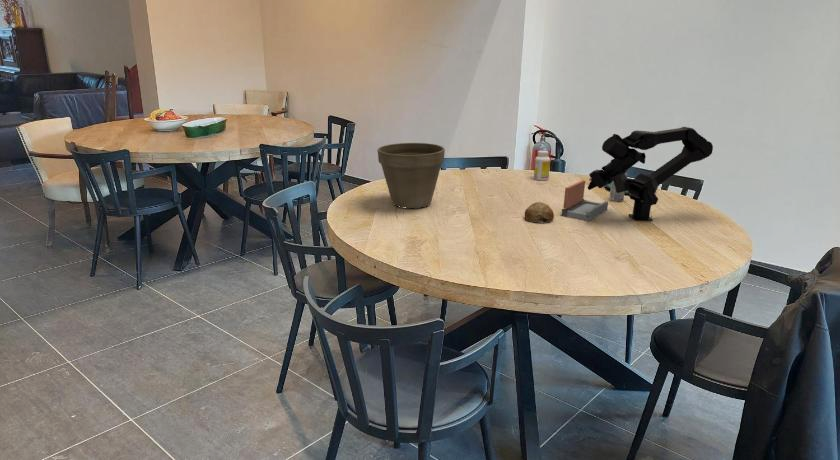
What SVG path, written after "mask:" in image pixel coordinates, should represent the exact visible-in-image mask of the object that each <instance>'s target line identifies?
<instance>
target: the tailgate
mask: <svg viewBox="0 0 840 460" xmlns="http://www.w3.org/2000/svg"><path fill="white" fill-rule="evenodd" d="M585 187H586V180H584V179H583V180H579V181H577V182H575V183H572V184H571V185H568V186H566V187H565V188H564V189H565V190H564V198H563V199H564V201H563V206H562V209H564V208H565V209H566V208H568V207H570V206H572V205H574V204H576V203H578V202H580V201H582V200H583V199H585V198H584V197H585Z"/></svg>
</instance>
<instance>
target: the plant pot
mask: <svg viewBox="0 0 840 460" xmlns="http://www.w3.org/2000/svg"><path fill="white" fill-rule="evenodd" d="M445 151H446V149H445V147H444V146H442V145H439V144H435V143H434V144H433V143H427V142H426V143H425V142H401V143H391V144H387V145H382V146H380V147H379V148H377V151H376V152H377V159H378V163H379V164H380V165H381V168H382V173H383V175H384V179H385V182H386V185H387V189H388V192H389V195H390V199H391V202H392V205H394V204H395V205H397V206H400V207H406V208H418V209H422V208H421V207H424V208H427V207H428V205H429V206H430V205H431V204H432V201H433V198H434V194H435V190H436V186H437V183H438V178H439V174H440V170H441V167H442V164H443V163H444V161H445V153H446V152H445ZM395 205H394V206H395ZM397 206H396V207H397ZM426 206H427V207H426Z"/></svg>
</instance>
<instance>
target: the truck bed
mask: <svg viewBox="0 0 840 460" xmlns="http://www.w3.org/2000/svg"><path fill="white" fill-rule="evenodd" d="M608 205H609V201H607V200H605V201H603V202H597V201H590V200H586V204H584V205H582V206H580V207H578V208H577V209H575V210H573V211H567V218H572V219H577V220H582V221H586V222H589V221H591V220H593V219H594V218H596V217H597V216H599V215H601V214H603V213H605V212H606V211H607V210H608V209H609V208H608Z"/></svg>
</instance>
